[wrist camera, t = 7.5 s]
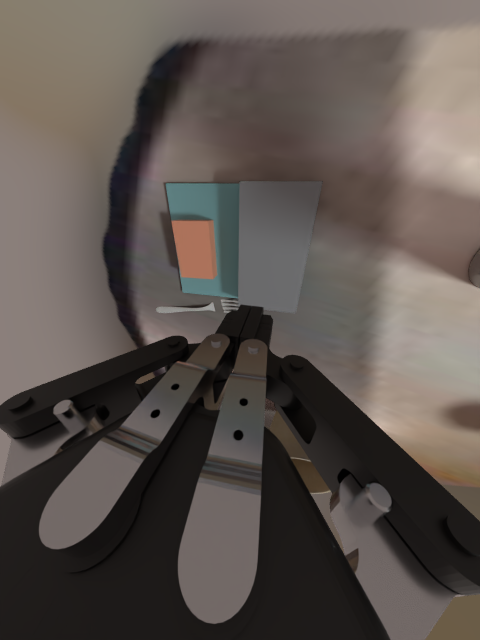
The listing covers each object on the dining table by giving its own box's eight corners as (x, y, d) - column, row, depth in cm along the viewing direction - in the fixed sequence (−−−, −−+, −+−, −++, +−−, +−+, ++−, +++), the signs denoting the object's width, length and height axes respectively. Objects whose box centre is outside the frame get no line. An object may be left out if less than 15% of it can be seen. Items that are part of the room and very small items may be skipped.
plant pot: (310, 427, 54) (318, 500, 40) (260, 411, 55) (252, 478, 41) (335, 397, 45) (356, 476, 32) (276, 379, 46) (272, 449, 33)
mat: (243, 183, 27) (242, 183, 27) (240, 297, 37) (240, 298, 36) (167, 183, 29) (165, 183, 29) (183, 291, 39) (182, 292, 38)
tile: (171, 220, 29) (178, 219, 31) (181, 277, 34) (187, 273, 36) (208, 221, 28) (213, 219, 30) (213, 279, 33) (217, 274, 35)
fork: (143, 303, 43) (138, 307, 42) (246, 296, 37) (244, 300, 35) (149, 316, 45) (144, 319, 43) (248, 310, 38) (246, 315, 37)
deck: (317, 184, 25) (322, 181, 22) (294, 302, 35) (295, 313, 32) (245, 183, 27) (239, 181, 24) (242, 297, 37) (238, 306, 33)
